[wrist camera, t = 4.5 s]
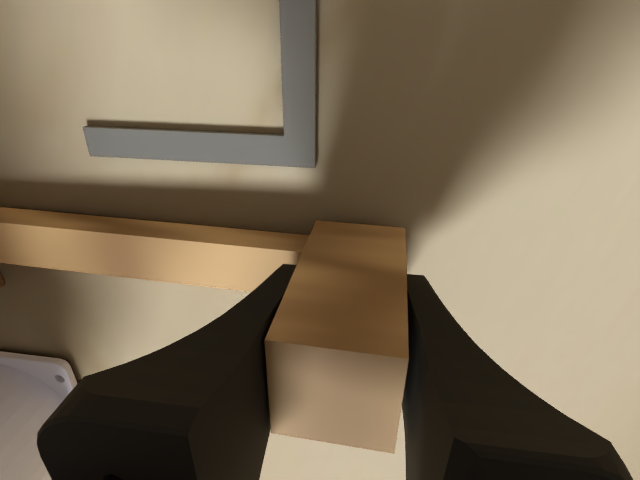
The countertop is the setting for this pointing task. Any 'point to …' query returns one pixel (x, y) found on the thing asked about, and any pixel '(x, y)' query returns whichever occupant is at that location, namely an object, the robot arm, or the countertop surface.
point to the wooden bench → (1, 281)
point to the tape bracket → (233, 146)
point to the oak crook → (293, 312)
